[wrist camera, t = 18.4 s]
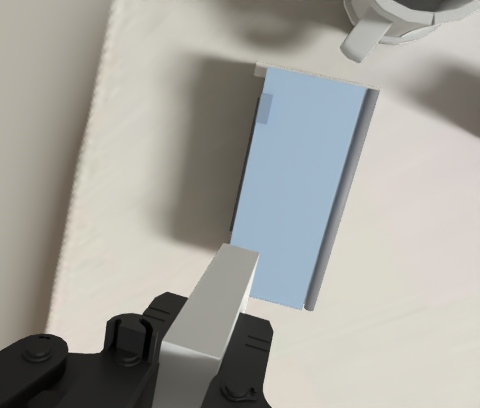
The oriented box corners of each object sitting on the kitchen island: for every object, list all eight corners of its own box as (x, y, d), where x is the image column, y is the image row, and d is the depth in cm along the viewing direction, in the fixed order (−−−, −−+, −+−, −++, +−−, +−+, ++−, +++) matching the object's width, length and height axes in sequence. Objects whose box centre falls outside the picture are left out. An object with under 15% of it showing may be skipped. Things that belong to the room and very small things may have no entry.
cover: (269, 66, 29) (267, 66, 28) (378, 90, 28) (382, 90, 27) (222, 283, 34) (218, 291, 33) (313, 306, 34) (314, 316, 32)
